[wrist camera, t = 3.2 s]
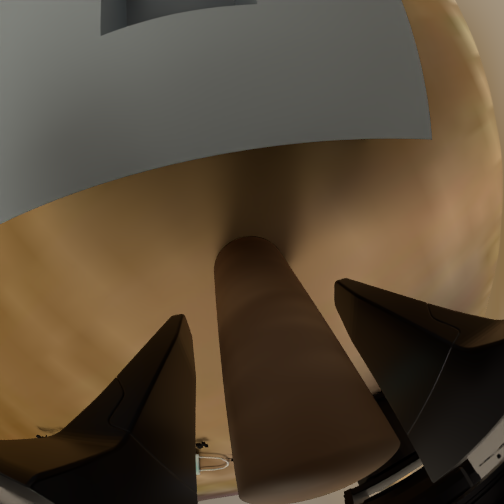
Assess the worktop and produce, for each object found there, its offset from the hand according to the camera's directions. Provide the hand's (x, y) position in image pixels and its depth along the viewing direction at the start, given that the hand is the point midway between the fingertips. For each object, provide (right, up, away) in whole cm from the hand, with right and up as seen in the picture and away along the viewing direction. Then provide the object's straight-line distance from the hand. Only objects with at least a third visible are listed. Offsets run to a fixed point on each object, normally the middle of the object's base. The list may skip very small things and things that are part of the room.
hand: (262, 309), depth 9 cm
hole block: (-3, +11, -2) cm, 11 cm away
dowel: (0, +1, +3) cm, 3 cm away
